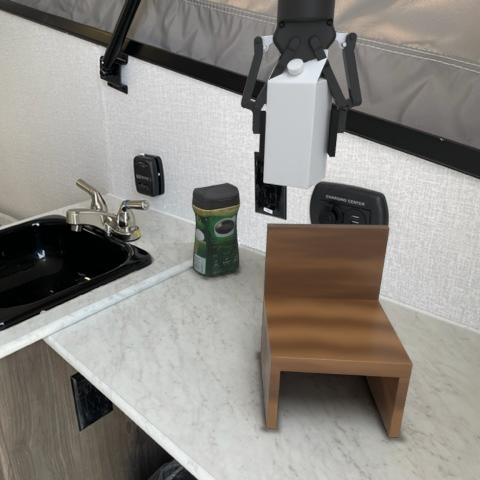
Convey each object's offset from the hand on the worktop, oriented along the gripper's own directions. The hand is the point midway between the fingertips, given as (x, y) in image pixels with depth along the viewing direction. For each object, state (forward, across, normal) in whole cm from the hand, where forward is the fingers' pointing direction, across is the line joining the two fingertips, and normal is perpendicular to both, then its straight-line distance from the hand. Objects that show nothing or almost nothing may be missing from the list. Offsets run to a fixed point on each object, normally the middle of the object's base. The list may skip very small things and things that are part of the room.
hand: (295, 155), depth 75 cm
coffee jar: (+29, -13, +20) cm, 38 cm away
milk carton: (+4, 0, 0) cm, 4 cm away
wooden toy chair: (+29, +4, -18) cm, 35 cm away
